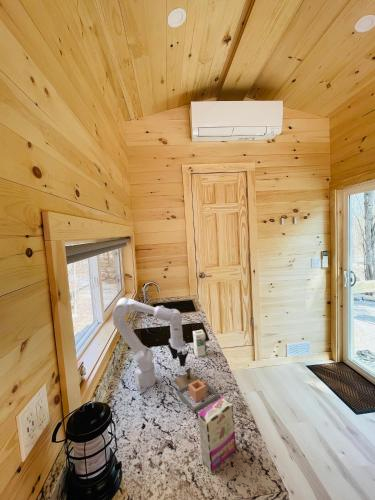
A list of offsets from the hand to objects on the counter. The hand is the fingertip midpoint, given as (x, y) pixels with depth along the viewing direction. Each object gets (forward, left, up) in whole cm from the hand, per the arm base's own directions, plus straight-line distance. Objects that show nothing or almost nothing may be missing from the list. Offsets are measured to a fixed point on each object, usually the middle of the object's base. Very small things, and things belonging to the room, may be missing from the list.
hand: (178, 362), depth 113 cm
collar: (0, -15, -9) cm, 17 cm away
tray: (0, -15, -9) cm, 18 cm away
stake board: (+1, -3, -9) cm, 10 cm away
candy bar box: (-9, -40, -10) cm, 42 cm away
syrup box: (+20, +11, -10) cm, 25 cm away
